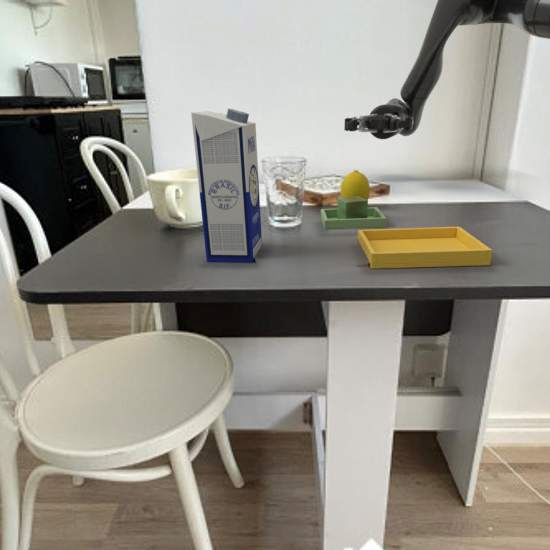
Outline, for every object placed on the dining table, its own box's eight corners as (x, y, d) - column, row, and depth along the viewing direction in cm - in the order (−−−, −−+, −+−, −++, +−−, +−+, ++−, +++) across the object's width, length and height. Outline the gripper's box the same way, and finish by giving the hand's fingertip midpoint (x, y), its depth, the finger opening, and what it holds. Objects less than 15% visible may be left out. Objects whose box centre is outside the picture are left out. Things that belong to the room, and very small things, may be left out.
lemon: (338, 214, 84) (338, 172, 81) (342, 207, 89) (343, 167, 86) (367, 215, 83) (368, 172, 80) (370, 208, 88) (371, 167, 85)
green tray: (376, 218, 80) (376, 207, 80) (386, 230, 73) (386, 218, 72) (320, 220, 81) (320, 209, 80) (324, 232, 73) (324, 220, 72)
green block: (357, 218, 79) (358, 195, 77) (367, 223, 75) (368, 200, 74) (336, 220, 78) (337, 197, 76) (345, 225, 74) (345, 202, 73)
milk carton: (220, 246, 68) (207, 109, 61) (262, 247, 67) (254, 107, 60) (206, 262, 62) (190, 110, 54) (252, 262, 60) (243, 108, 53)
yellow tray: (457, 239, 66) (459, 226, 66) (490, 265, 56) (492, 249, 55) (357, 243, 67) (357, 229, 66) (370, 268, 57) (371, 253, 56)
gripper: (358, 104, 105) (337, 107, 91) (420, 103, 99) (408, 105, 85) (357, 137, 107) (337, 144, 94) (417, 137, 102) (405, 145, 88)
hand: (371, 125), depth 90 cm, fingers open, 8 cm apart
